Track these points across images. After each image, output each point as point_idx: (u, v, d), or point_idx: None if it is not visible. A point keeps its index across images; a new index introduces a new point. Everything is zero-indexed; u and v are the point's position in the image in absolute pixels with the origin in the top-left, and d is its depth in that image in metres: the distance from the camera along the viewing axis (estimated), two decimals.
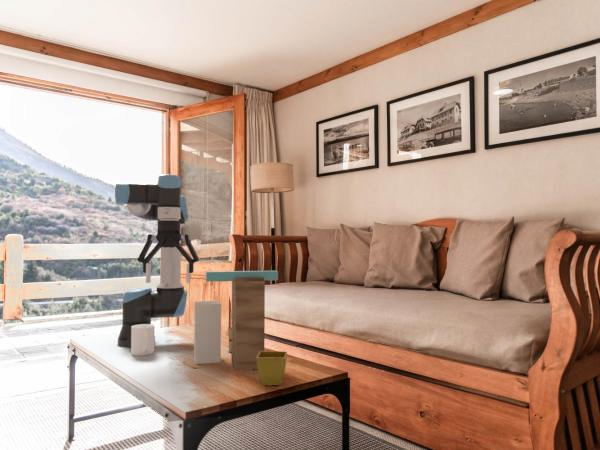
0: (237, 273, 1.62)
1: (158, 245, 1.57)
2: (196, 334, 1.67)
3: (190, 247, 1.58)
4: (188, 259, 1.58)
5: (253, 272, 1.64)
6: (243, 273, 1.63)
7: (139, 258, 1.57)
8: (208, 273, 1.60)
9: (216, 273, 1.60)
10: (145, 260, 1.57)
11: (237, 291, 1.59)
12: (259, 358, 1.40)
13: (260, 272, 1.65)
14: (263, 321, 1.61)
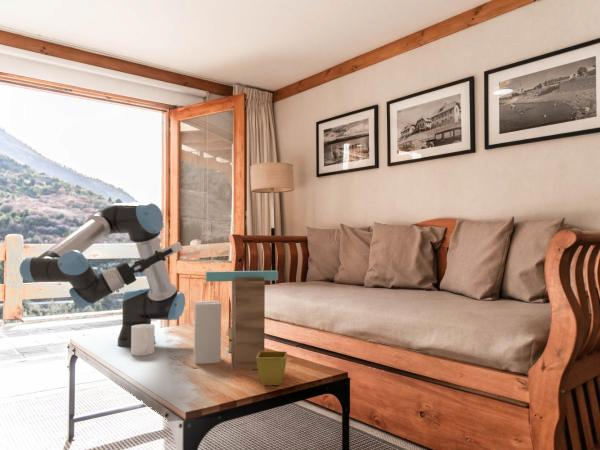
0: (237, 273, 1.62)
1: None
2: (196, 334, 1.67)
3: (149, 265, 1.50)
4: None
5: (253, 272, 1.64)
6: (243, 273, 1.63)
7: None
8: (208, 273, 1.60)
9: (216, 273, 1.60)
10: None
11: (237, 291, 1.59)
12: (259, 358, 1.40)
13: (260, 272, 1.65)
14: (263, 321, 1.61)
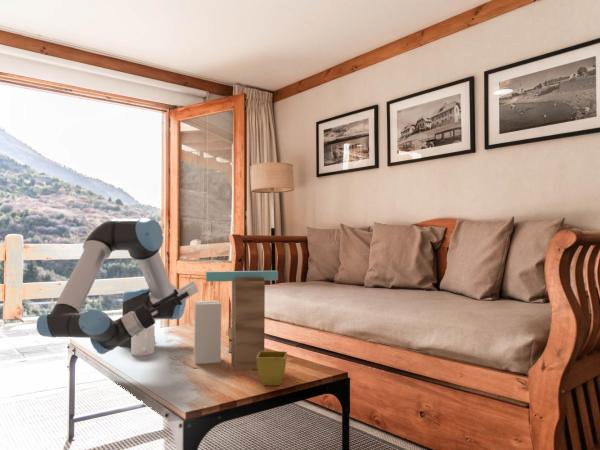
0: (237, 273, 1.62)
1: None
2: (196, 334, 1.67)
3: (165, 310, 1.49)
4: None
5: (253, 272, 1.64)
6: (243, 273, 1.63)
7: None
8: (208, 273, 1.60)
9: (216, 273, 1.60)
10: None
11: (237, 291, 1.59)
12: (259, 358, 1.40)
13: (260, 272, 1.65)
14: (263, 321, 1.61)
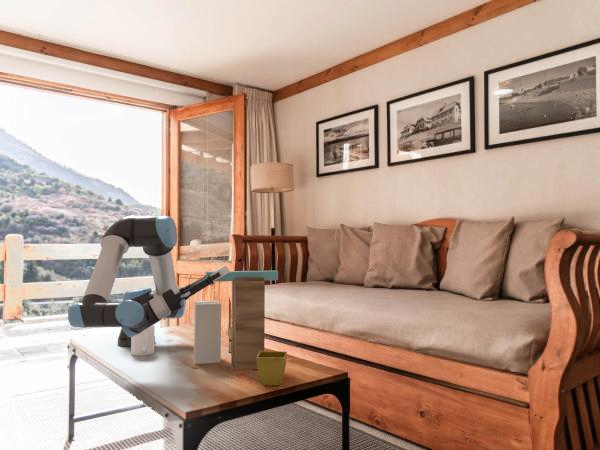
0: (237, 273, 1.62)
1: None
2: (196, 334, 1.67)
3: None
4: None
5: (253, 272, 1.64)
6: (243, 273, 1.63)
7: None
8: (208, 273, 1.60)
9: None
10: None
11: (237, 291, 1.59)
12: (259, 358, 1.40)
13: (260, 272, 1.65)
14: (263, 321, 1.61)
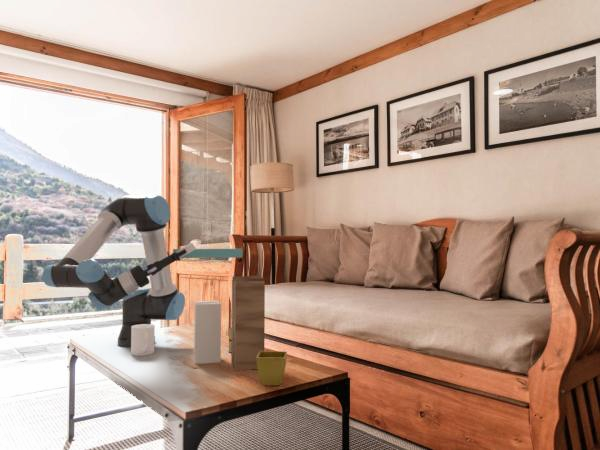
0: (203, 250, 1.70)
1: None
2: (196, 334, 1.67)
3: (164, 266, 1.63)
4: None
5: (218, 249, 1.72)
6: (208, 250, 1.71)
7: None
8: (174, 250, 1.67)
9: None
10: None
11: (237, 291, 1.59)
12: (259, 358, 1.40)
13: (225, 249, 1.72)
14: (263, 321, 1.61)
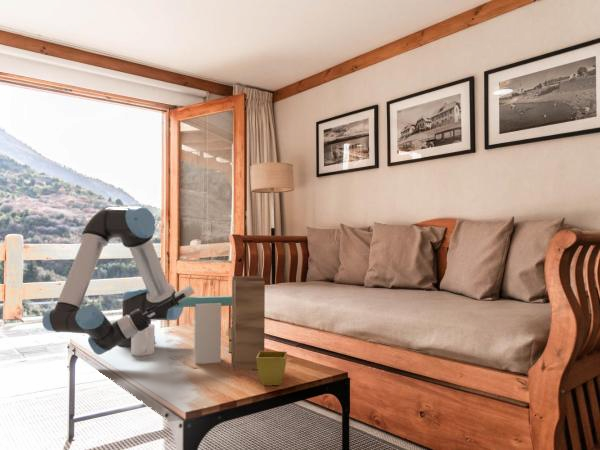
0: (202, 299, 1.70)
1: None
2: (196, 334, 1.67)
3: (163, 311, 1.63)
4: None
5: (217, 298, 1.72)
6: (208, 299, 1.71)
7: None
8: None
9: None
10: None
11: (237, 291, 1.59)
12: (259, 358, 1.40)
13: (224, 298, 1.73)
14: (263, 321, 1.61)
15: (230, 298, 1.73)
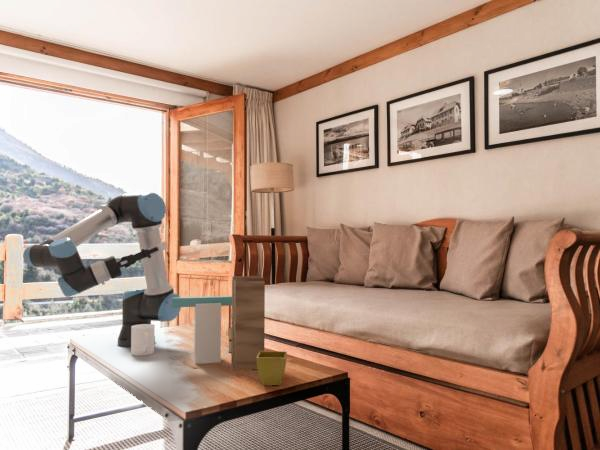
0: (202, 299, 1.70)
1: None
2: (196, 334, 1.67)
3: (135, 261, 1.61)
4: None
5: (217, 298, 1.72)
6: (208, 299, 1.71)
7: None
8: (174, 299, 1.68)
9: (181, 300, 1.69)
10: (144, 257, 1.76)
11: (237, 291, 1.59)
12: (259, 358, 1.40)
13: (224, 298, 1.73)
14: (263, 321, 1.61)
15: (230, 298, 1.73)
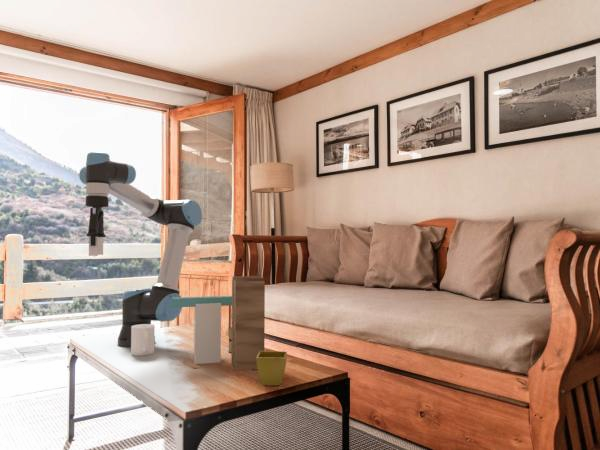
0: (202, 299, 1.70)
1: None
2: (196, 334, 1.67)
3: None
4: None
5: (217, 298, 1.72)
6: (208, 299, 1.71)
7: None
8: (174, 299, 1.68)
9: (181, 300, 1.69)
10: None
11: (237, 291, 1.59)
12: (259, 358, 1.40)
13: (224, 298, 1.73)
14: (263, 321, 1.61)
15: (230, 298, 1.73)
